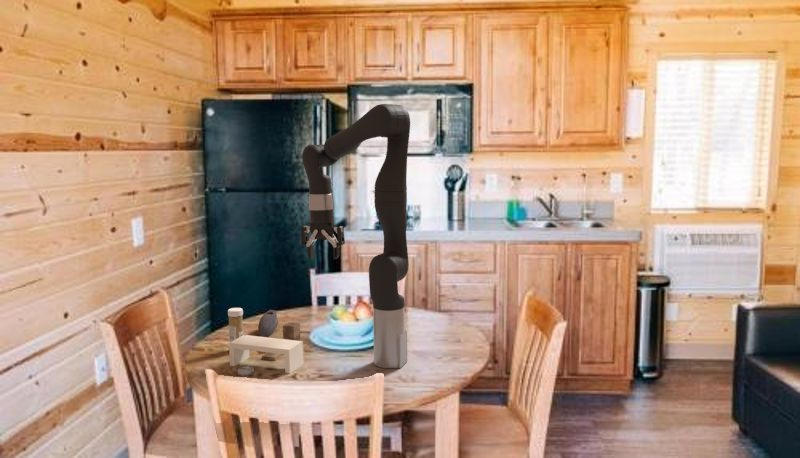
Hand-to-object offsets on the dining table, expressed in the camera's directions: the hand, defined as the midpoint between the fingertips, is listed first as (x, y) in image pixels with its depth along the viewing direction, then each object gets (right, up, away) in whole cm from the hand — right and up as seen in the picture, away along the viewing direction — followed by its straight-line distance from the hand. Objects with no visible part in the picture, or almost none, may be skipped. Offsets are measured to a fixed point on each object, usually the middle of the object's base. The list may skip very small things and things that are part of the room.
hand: (323, 258), depth 201 cm
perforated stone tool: (-21, -27, +14) cm, 37 cm away
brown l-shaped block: (-13, -29, -4) cm, 32 cm away
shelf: (-15, -31, -16) cm, 38 cm away
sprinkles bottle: (-27, -29, -2) cm, 40 cm away
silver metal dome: (-19, -32, -22) cm, 43 cm away
